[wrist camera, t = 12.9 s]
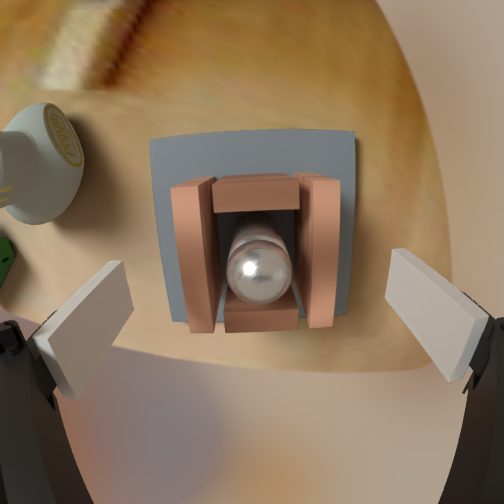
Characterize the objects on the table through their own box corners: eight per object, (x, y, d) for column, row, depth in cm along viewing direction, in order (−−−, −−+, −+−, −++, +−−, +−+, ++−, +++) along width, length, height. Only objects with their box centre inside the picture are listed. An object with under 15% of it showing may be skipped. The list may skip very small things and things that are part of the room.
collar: (194, 177, 21) (170, 188, 14) (312, 172, 21) (340, 180, 14) (205, 285, 24) (190, 333, 17) (311, 281, 24) (332, 326, 17)
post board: (154, 140, 21) (149, 139, 20) (349, 132, 21) (354, 131, 20) (175, 315, 26) (172, 321, 25) (342, 307, 26) (346, 314, 25)
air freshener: (106, 184, 22) (34, 206, 13) (52, 229, 24) (-15, 264, 14) (63, 92, 19) (-9, 79, 10) (14, 144, 20) (-54, 152, 11)
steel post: (232, 212, 22) (220, 252, 13) (278, 210, 22) (297, 249, 13) (235, 254, 23) (226, 318, 14) (279, 253, 23) (296, 315, 14)
